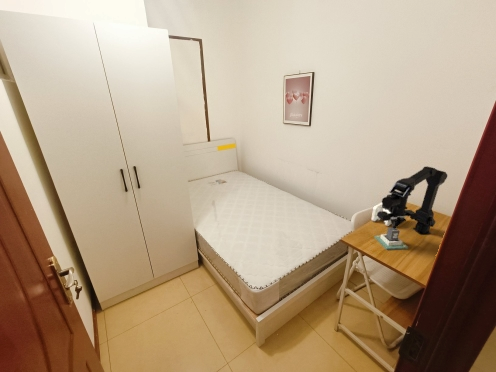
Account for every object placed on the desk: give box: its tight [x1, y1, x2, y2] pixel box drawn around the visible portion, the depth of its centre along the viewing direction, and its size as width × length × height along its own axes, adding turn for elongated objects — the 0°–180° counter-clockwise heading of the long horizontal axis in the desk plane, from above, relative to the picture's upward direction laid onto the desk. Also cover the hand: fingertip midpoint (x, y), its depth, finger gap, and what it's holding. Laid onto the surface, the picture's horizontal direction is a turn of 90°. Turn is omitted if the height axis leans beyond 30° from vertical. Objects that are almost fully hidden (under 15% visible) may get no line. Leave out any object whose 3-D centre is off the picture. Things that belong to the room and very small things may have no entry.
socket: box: [380, 233, 403, 246], centre depth 125 cm, size 8×8×2 cm
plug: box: [385, 226, 400, 241], centre depth 124 cm, size 4×4×8 cm
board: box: [373, 234, 409, 251], centre depth 126 cm, size 12×12×1 cm
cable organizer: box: [371, 201, 392, 227], centre depth 145 cm, size 15×11×12 cm
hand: (393, 228), depth 123 cm, fingers closed
